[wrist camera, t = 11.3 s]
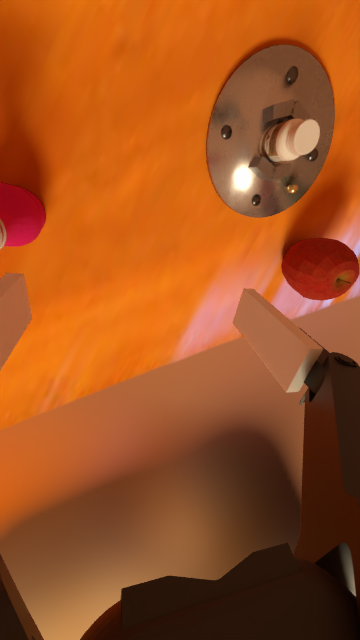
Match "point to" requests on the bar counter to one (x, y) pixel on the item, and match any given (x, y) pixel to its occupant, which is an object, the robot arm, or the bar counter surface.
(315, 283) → the apple
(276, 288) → the bar counter surface
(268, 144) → the pill bottle
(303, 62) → the flange plate
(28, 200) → the pepper mill
